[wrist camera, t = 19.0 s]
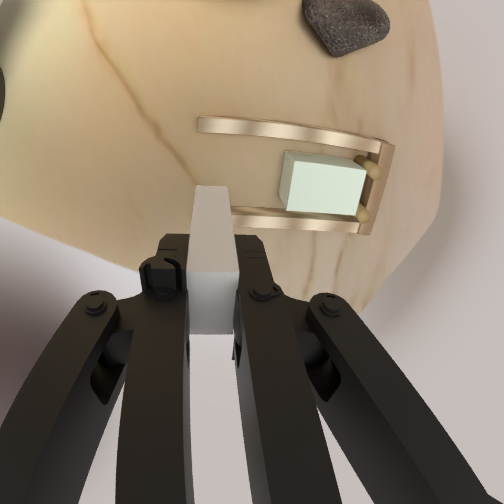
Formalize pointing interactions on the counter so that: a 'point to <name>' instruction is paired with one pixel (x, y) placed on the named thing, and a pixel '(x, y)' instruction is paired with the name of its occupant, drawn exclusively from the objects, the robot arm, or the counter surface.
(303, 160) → the block
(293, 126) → the wooden u-shaped frame
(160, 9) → the counter surface
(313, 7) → the stone
